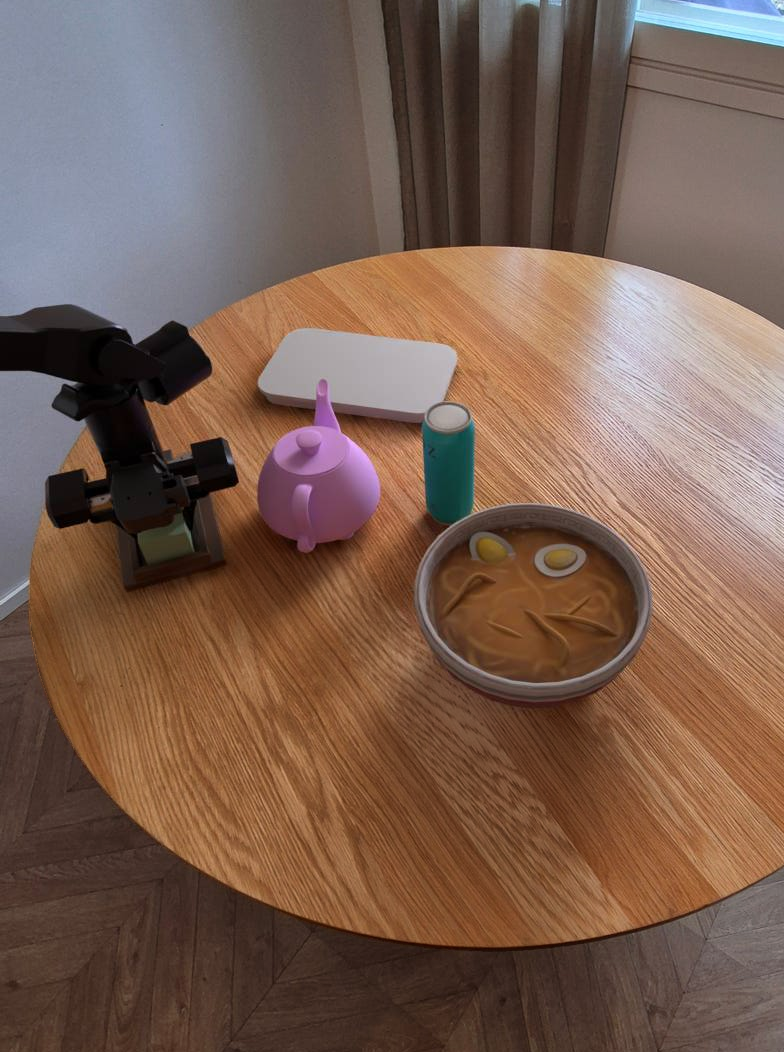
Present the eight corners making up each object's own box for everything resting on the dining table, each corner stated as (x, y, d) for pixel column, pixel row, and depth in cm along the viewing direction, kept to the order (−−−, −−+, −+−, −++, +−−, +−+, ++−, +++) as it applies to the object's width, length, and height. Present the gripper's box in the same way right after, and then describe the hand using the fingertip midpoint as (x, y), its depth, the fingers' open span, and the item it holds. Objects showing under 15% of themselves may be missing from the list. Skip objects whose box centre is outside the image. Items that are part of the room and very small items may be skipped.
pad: (149, 568, 87) (138, 544, 85) (143, 524, 92) (132, 500, 89) (195, 556, 89) (186, 532, 86) (187, 514, 93) (178, 489, 90)
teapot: (283, 451, 103) (265, 375, 94) (391, 455, 102) (384, 378, 93) (247, 570, 89) (223, 494, 80) (372, 574, 89) (362, 498, 80)
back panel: (126, 592, 87) (110, 563, 83) (114, 492, 97) (100, 462, 93) (227, 565, 90) (216, 535, 86) (205, 471, 100) (195, 441, 96)
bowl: (498, 533, 93) (501, 471, 86) (674, 625, 85) (694, 565, 77) (372, 666, 81) (363, 607, 73) (564, 791, 72) (575, 738, 65)
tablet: (294, 338, 120) (291, 325, 118) (461, 359, 117) (461, 346, 115) (253, 404, 109) (250, 391, 107) (437, 429, 106) (436, 416, 104)
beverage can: (461, 490, 98) (460, 393, 87) (481, 520, 95) (483, 424, 84) (418, 504, 96) (412, 407, 85) (438, 536, 93) (434, 439, 82)
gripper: (20, 506, 71) (82, 611, 82) (231, 457, 75) (262, 562, 87) (20, 430, 78) (77, 536, 89) (213, 389, 82) (244, 495, 94)
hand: (166, 534), depth 90 cm, fingers closed on pad, 5 cm apart
